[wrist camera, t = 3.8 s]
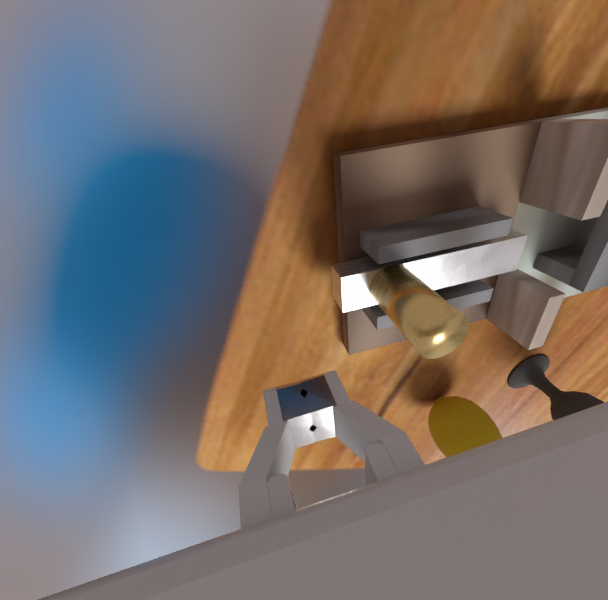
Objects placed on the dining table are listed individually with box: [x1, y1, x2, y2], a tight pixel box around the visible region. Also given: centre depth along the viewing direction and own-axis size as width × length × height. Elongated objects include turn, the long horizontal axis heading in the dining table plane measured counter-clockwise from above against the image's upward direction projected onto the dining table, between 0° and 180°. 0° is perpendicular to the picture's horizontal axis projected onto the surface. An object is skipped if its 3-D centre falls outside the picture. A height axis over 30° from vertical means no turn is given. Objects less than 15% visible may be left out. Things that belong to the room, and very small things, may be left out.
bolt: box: [331, 229, 528, 359], centre depth 16 cm, size 12×3×7 cm, turn 97°
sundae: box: [508, 355, 605, 420], centre depth 26 cm, size 7×7×15 cm
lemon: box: [428, 396, 502, 457], centre depth 28 cm, size 6×6×8 cm
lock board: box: [333, 107, 608, 355], centre depth 19 cm, size 24×14×5 cm, turn 97°
